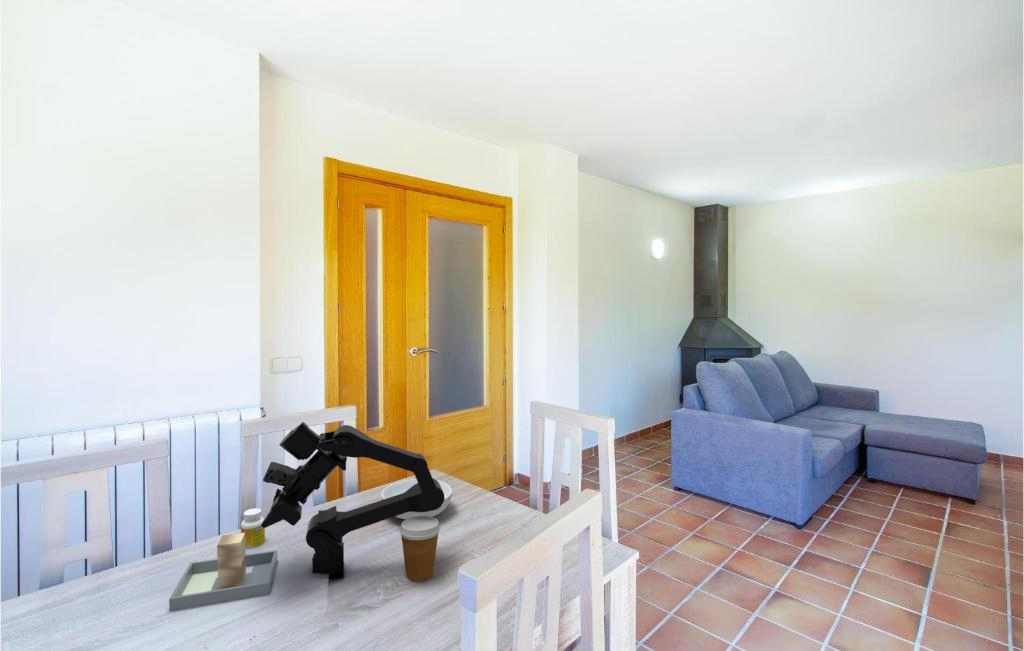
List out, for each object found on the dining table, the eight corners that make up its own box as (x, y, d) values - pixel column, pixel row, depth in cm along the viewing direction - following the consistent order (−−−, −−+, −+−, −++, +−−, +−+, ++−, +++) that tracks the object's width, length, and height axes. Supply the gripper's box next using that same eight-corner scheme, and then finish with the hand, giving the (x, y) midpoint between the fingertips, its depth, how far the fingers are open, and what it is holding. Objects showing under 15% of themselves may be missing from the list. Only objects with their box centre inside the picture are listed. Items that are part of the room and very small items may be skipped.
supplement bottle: (254, 555, 121) (254, 517, 121) (236, 552, 122) (235, 515, 122) (269, 544, 127) (269, 508, 126) (251, 542, 128) (251, 506, 127)
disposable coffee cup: (390, 580, 111) (391, 528, 111) (412, 561, 120) (413, 512, 120) (427, 588, 108) (428, 534, 108) (447, 568, 116) (447, 518, 117)
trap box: (277, 566, 116) (277, 550, 116) (268, 601, 103) (268, 582, 103) (190, 579, 111) (190, 562, 110) (169, 618, 97) (169, 599, 97)
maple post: (245, 575, 110) (244, 532, 109) (241, 586, 106) (240, 542, 105) (223, 578, 108) (222, 535, 108) (218, 590, 104) (217, 545, 104)
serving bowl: (446, 530, 136) (446, 506, 135) (372, 528, 136) (372, 505, 135) (456, 499, 156) (456, 478, 156) (391, 498, 157) (391, 477, 156)
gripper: (290, 438, 118) (241, 489, 115) (281, 464, 100) (222, 524, 97) (326, 466, 121) (279, 516, 118) (322, 496, 103) (267, 555, 100)
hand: (262, 526), depth 108 cm, fingers closed
